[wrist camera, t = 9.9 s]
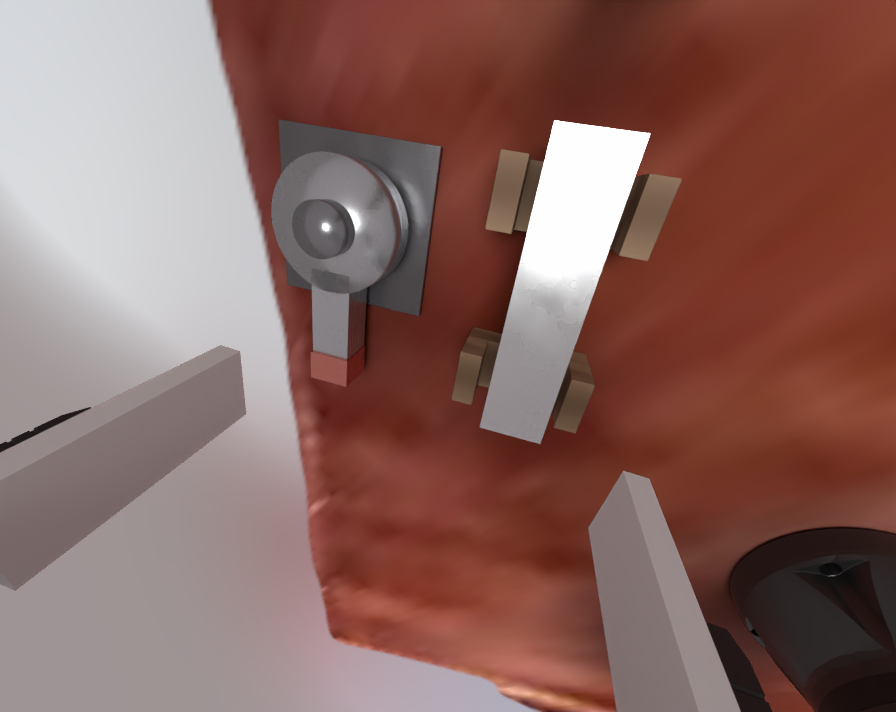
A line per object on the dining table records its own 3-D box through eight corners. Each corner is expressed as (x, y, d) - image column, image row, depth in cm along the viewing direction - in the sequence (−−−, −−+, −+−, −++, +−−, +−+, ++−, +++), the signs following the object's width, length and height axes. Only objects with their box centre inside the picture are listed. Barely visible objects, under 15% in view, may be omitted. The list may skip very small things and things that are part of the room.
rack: (569, 396, 28) (575, 433, 24) (464, 369, 30) (451, 399, 25) (652, 182, 21) (682, 178, 17) (508, 158, 22) (501, 149, 18)
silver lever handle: (296, 146, 24) (247, 136, 20) (415, 168, 23) (389, 161, 19) (303, 353, 32) (269, 375, 28) (393, 377, 31) (371, 405, 27)
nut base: (420, 314, 28) (418, 316, 28) (291, 283, 30) (287, 284, 30) (442, 147, 23) (440, 146, 23) (283, 120, 25) (278, 119, 24)
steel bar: (539, 399, 27) (540, 444, 22) (490, 386, 27) (479, 427, 23) (622, 149, 19) (650, 133, 14) (550, 139, 20) (554, 120, 15)
